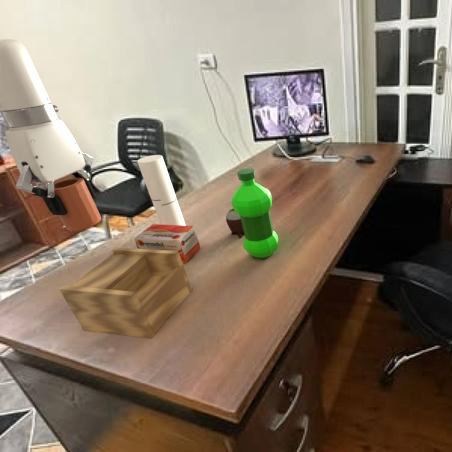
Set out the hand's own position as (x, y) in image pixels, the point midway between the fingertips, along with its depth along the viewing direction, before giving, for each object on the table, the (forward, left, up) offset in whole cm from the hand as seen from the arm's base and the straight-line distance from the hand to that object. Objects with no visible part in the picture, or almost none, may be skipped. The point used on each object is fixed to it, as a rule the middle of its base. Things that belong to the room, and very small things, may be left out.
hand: (75, 205), depth 72 cm
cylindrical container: (-11, +37, -28) cm, 47 cm away
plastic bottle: (+26, +26, -28) cm, 46 cm away
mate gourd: (+14, +37, -28) cm, 48 cm away
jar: (0, 0, -4) cm, 4 cm away
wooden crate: (+5, 0, -27) cm, 28 cm away
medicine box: (-2, +22, -28) cm, 36 cm away
